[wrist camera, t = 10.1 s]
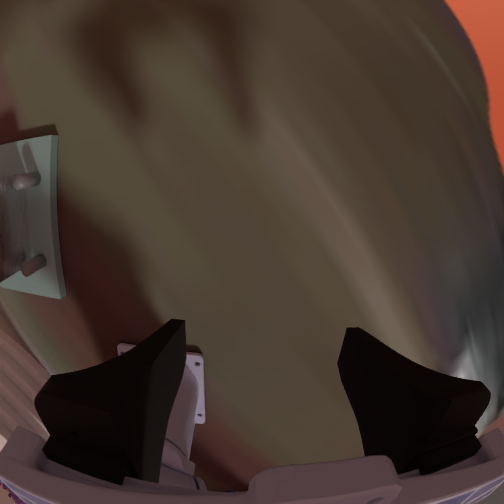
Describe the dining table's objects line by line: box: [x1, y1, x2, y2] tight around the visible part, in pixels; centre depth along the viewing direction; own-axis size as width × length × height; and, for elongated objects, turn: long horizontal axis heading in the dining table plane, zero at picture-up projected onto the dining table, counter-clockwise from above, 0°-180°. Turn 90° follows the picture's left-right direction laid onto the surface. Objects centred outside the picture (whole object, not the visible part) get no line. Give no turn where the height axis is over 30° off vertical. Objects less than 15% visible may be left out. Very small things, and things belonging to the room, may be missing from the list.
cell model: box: [0, 480, 27, 504], centre depth 32 cm, size 17×20×11 cm
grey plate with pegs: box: [0, 135, 67, 299], centre depth 18 cm, size 14×10×4 cm
